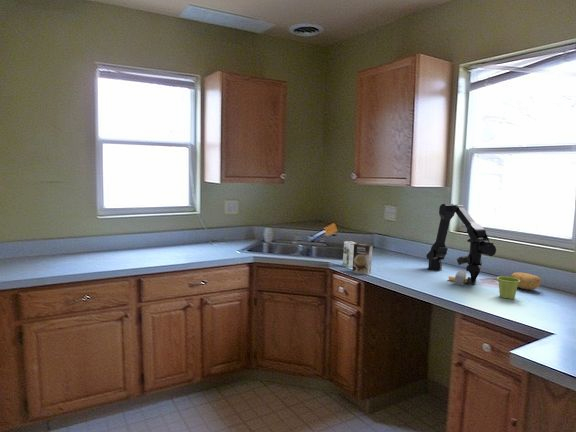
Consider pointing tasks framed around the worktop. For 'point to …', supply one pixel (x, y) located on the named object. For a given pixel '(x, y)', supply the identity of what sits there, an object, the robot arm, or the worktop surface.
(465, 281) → the plug
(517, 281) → the plant pot
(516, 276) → the potato
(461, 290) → the worktop surface
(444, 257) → the robot arm
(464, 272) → the housing
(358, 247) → the coffee box
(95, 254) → the worktop surface
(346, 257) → the syrup box
